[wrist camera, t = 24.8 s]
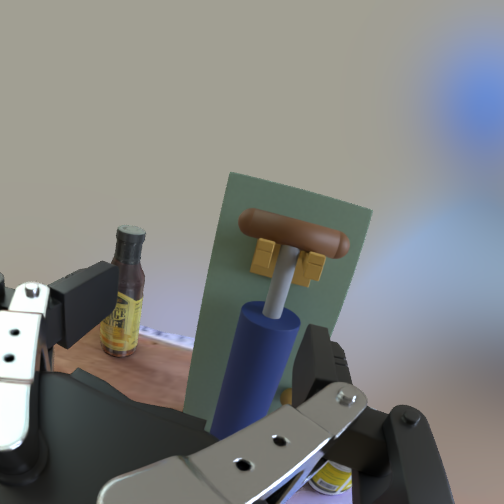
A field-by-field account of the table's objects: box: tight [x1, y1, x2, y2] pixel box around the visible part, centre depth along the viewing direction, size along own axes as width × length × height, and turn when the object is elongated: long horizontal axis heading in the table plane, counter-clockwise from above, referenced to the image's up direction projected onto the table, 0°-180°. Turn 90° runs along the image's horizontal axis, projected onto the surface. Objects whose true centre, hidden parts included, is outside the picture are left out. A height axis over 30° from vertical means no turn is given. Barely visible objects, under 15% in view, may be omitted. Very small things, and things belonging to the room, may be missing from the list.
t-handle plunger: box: [210, 208, 350, 440], centre depth 23 cm, size 8×5×22 cm, turn 83°
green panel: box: [183, 172, 373, 433], centre depth 26 cm, size 11×12×30 cm
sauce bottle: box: [100, 225, 146, 357], centre depth 41 cm, size 7×6×20 cm
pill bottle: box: [309, 409, 376, 495], centre depth 26 cm, size 6×6×11 cm
